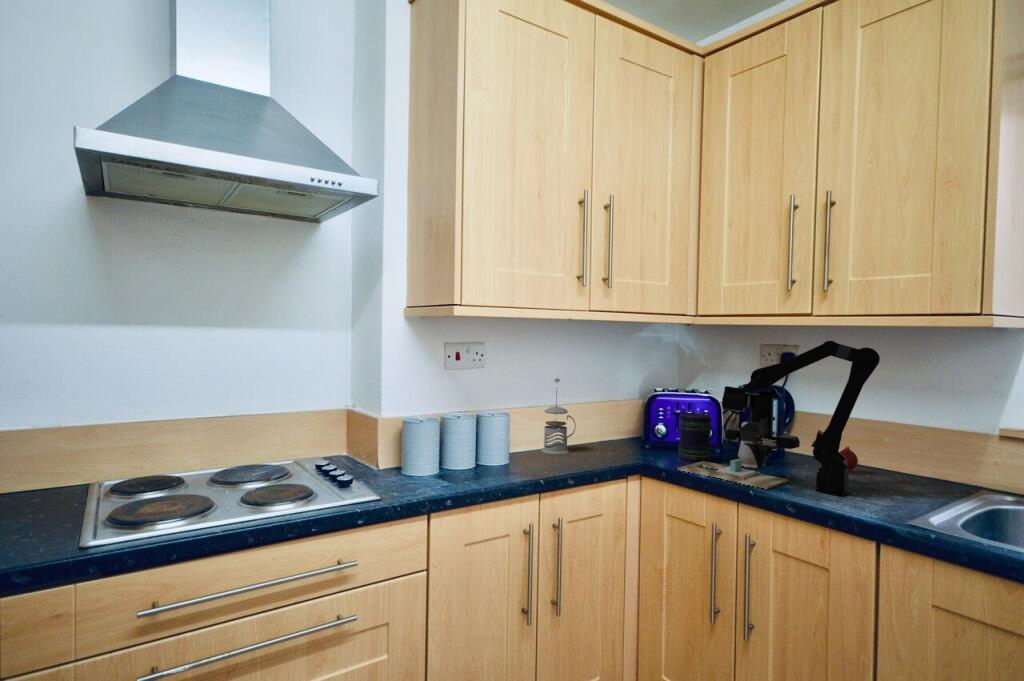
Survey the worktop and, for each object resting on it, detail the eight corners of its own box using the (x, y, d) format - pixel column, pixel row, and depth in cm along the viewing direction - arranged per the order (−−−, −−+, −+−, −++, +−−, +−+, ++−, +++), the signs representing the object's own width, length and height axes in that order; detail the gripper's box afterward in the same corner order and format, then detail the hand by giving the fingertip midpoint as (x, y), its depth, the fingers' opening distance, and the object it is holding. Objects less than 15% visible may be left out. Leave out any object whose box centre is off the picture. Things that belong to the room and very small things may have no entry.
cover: (755, 474, 166) (756, 460, 166) (742, 479, 161) (743, 464, 161) (729, 469, 172) (730, 456, 172) (715, 473, 167) (716, 459, 167)
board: (788, 482, 162) (788, 476, 162) (767, 489, 153) (767, 483, 153) (700, 464, 182) (700, 459, 182) (677, 470, 173) (677, 464, 173)
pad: (770, 465, 183) (770, 463, 183) (755, 469, 177) (755, 468, 177) (740, 459, 191) (740, 458, 191) (725, 463, 184) (725, 462, 184)
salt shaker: (743, 465, 180) (744, 423, 180) (734, 461, 186) (735, 420, 186) (761, 465, 181) (762, 423, 181) (751, 461, 187) (752, 420, 187)
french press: (541, 447, 203) (543, 376, 203) (574, 448, 202) (576, 377, 202) (540, 453, 194) (541, 378, 193) (575, 454, 192) (576, 379, 192)
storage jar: (673, 460, 186) (674, 414, 186) (686, 456, 194) (687, 412, 194) (702, 466, 180) (704, 418, 180) (715, 461, 187) (716, 415, 187)
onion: (856, 475, 171) (857, 449, 171) (834, 472, 175) (835, 446, 175) (858, 472, 176) (859, 446, 176) (837, 469, 179) (837, 443, 179)
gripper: (716, 411, 163) (714, 466, 163) (783, 419, 149) (781, 480, 149) (735, 408, 170) (734, 461, 170) (801, 416, 156) (799, 473, 156)
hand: (760, 468), depth 161 cm, fingers closed
